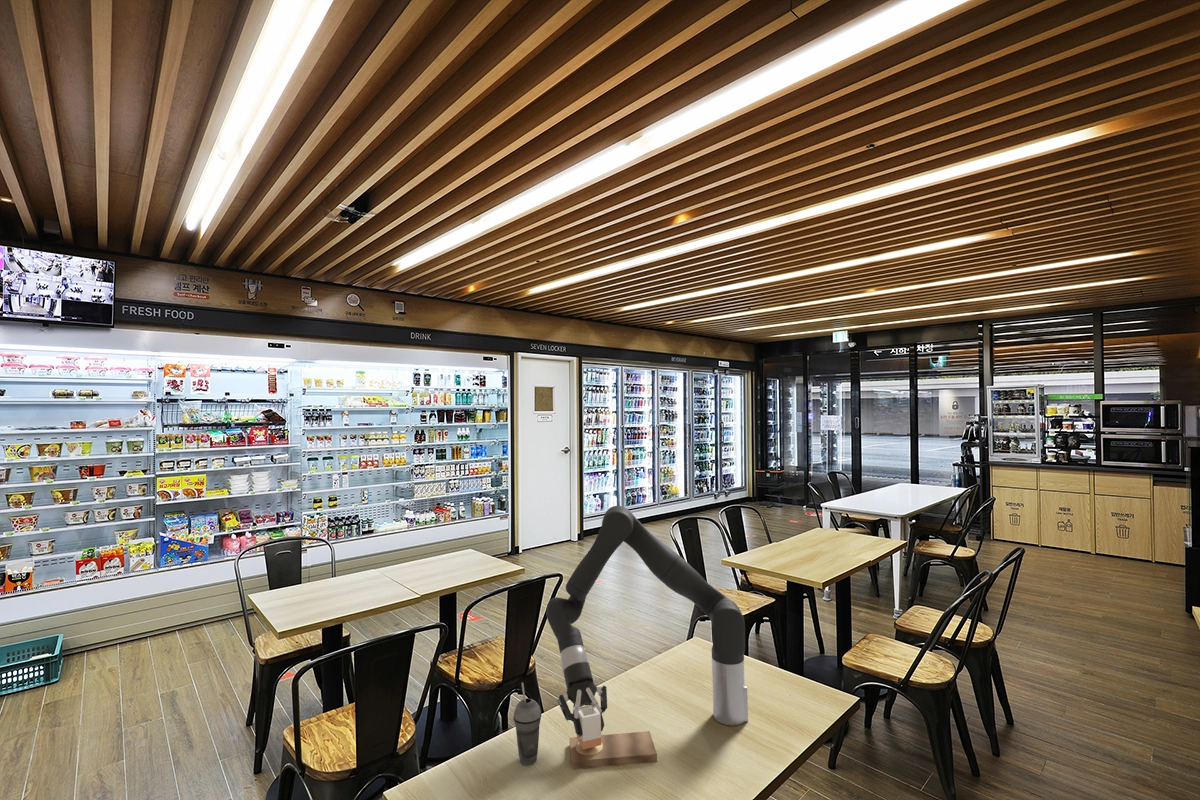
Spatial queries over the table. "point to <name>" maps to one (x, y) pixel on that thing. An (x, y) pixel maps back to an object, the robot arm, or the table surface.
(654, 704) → the table surface
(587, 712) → the sleeve
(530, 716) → the beverage cup
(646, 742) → the pin board
